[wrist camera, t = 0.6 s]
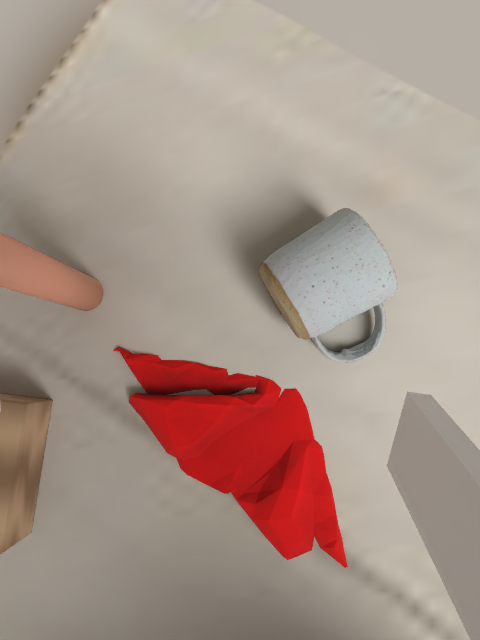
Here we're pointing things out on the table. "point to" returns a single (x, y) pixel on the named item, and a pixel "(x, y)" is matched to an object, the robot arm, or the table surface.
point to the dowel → (45, 277)
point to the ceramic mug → (332, 280)
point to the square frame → (20, 463)
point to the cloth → (243, 447)
